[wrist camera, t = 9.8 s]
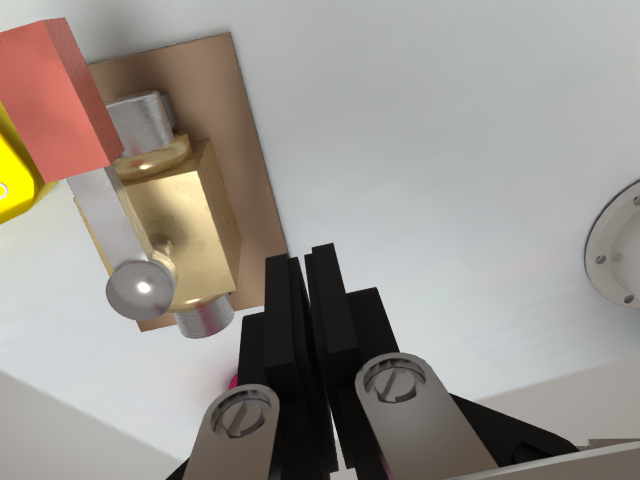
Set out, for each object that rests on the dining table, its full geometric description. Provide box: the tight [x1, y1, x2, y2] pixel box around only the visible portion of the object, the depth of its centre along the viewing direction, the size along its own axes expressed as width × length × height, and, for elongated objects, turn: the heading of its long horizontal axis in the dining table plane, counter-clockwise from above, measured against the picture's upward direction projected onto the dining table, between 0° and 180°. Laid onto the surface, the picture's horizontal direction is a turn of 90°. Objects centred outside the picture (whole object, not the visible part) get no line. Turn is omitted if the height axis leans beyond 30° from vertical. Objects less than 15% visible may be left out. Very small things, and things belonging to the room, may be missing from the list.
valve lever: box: [0, 18, 178, 321], centre depth 23 cm, size 14×3×2 cm, turn 15°
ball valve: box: [73, 90, 242, 339], centre depth 31 cm, size 7×16×10 cm, turn 12°
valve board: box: [87, 32, 290, 332], centre depth 36 cm, size 13×20×2 cm, turn 11°
